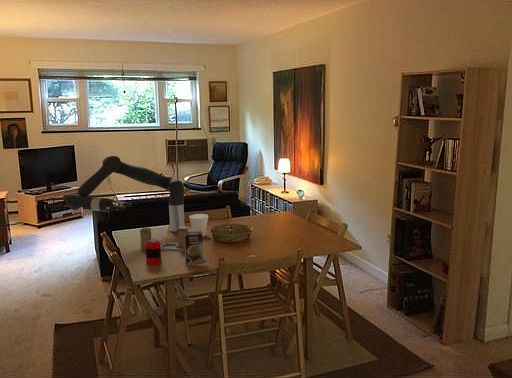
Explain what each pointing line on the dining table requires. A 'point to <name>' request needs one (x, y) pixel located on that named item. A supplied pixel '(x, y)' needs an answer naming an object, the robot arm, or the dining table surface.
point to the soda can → (153, 252)
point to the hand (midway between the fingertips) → (128, 206)
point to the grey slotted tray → (171, 247)
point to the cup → (199, 222)
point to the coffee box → (193, 248)
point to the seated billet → (182, 236)
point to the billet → (145, 237)
